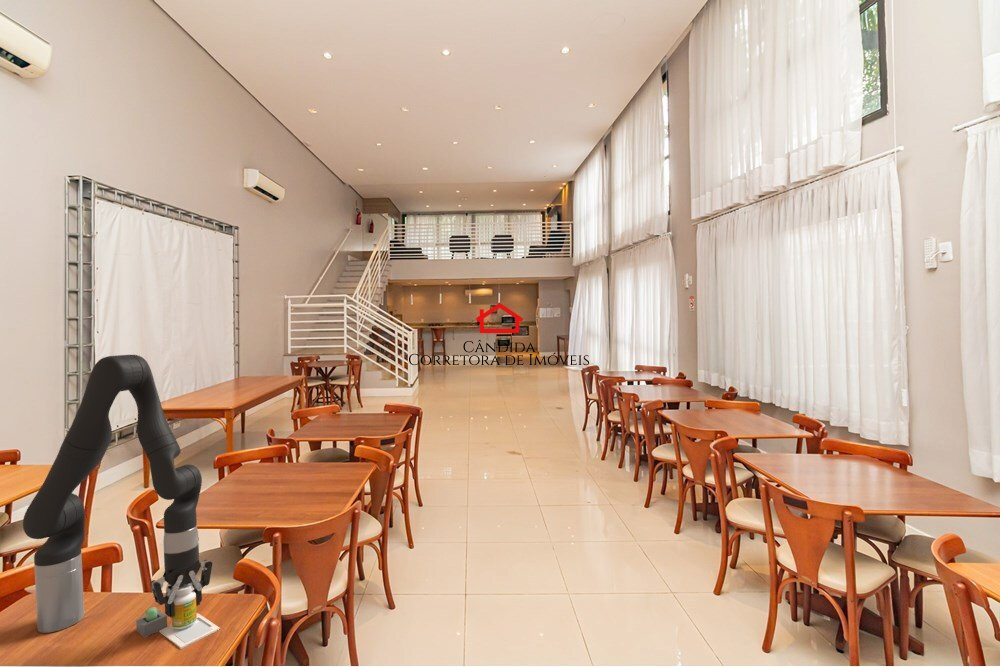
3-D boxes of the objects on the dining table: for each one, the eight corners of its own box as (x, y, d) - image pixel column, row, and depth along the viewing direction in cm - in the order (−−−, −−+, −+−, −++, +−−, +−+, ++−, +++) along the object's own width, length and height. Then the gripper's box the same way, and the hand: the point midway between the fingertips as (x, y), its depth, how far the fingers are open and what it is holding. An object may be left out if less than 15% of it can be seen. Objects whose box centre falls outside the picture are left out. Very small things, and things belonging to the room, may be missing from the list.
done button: (144, 623, 126) (143, 610, 126) (155, 618, 128) (154, 606, 128) (148, 626, 125) (147, 613, 125) (159, 621, 127) (158, 609, 127)
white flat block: (159, 632, 125) (159, 630, 125) (197, 614, 133) (197, 612, 133) (181, 649, 118) (180, 647, 118) (219, 629, 126) (219, 627, 126)
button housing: (136, 631, 126) (136, 619, 126) (159, 621, 130) (158, 609, 130) (144, 637, 123) (144, 625, 123) (167, 627, 127) (166, 615, 127)
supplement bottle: (184, 631, 124) (183, 593, 124) (166, 629, 125) (165, 591, 125) (201, 618, 129) (200, 581, 129) (184, 616, 130) (182, 580, 130)
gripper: (203, 531, 135) (206, 593, 135) (142, 552, 123) (145, 620, 123) (217, 538, 131) (220, 601, 131) (155, 560, 119) (158, 630, 119)
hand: (183, 610), depth 127 cm, fingers closed on supplement bottle, 5 cm apart
